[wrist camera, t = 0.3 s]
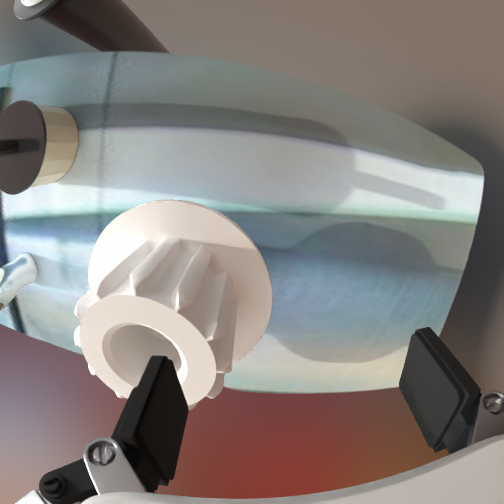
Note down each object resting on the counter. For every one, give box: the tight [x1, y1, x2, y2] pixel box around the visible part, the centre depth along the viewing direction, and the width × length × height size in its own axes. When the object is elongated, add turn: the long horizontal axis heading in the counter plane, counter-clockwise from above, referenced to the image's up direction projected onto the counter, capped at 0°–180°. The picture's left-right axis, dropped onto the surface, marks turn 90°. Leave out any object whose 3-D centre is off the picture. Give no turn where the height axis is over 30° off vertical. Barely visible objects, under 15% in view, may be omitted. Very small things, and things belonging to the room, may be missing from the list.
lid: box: [0, 100, 47, 195], centre depth 24 cm, size 13×13×6 cm
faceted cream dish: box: [28, 104, 79, 189], centre depth 31 cm, size 12×12×8 cm
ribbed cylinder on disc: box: [74, 199, 272, 410], centre depth 33 cm, size 25×25×19 cm
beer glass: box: [0, 252, 38, 311], centre depth 34 cm, size 7×7×15 cm
